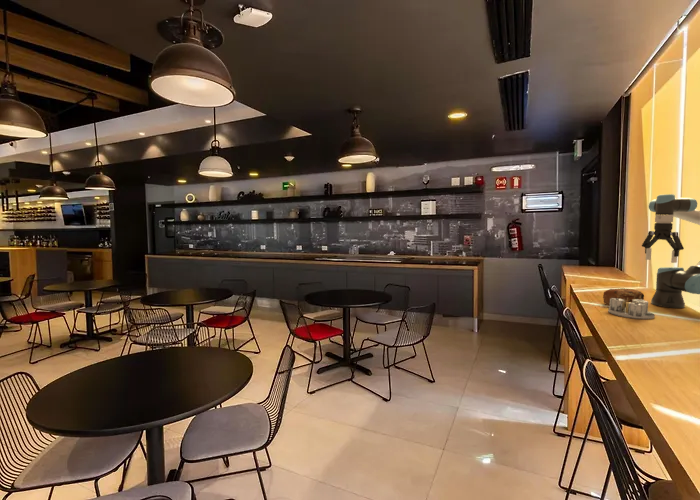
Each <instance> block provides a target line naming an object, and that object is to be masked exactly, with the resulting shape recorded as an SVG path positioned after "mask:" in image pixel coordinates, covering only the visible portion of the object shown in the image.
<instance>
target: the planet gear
mask: <svg viewBox="0 0 700 500" xmlns="http://www.w3.org/2000/svg"><path fill="white" fill-rule="evenodd" d="M632 303H640V304H644V305H645V311H644V313H648V312H649V311H648V310H649V301H648V300H645V299H643V300H638V299H635V300H632Z"/></svg>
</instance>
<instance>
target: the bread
mask: <svg viewBox="0 0 700 500" xmlns="http://www.w3.org/2000/svg"><path fill="white" fill-rule="evenodd" d="M602 295H603V297H602V298H603V303H604V304H605V305H608V306H610V299H611V298H620V299H623V300H625V308H626V302H632V300H635V299H638V300H645V298H644V297H645V295H644V293H643V292H642V291H639V290H637V289H633V288H632V289H631V288H624V287H623V288H621V287H620V288H610V289H607V290H605V291H604V292H603V294H602Z"/></svg>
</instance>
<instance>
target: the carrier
mask: <svg viewBox="0 0 700 500" xmlns="http://www.w3.org/2000/svg"><path fill="white" fill-rule="evenodd" d="M608 306H609V308H608V313H609V314H611V315H614V316H616V317H622V318H626V319H632V320H653V319H655V314H654V313H652V312H650V311H648V313H644V311H645V305H644V304H640V303H632V302H626V307H625V300H623V299H620V298H611V299H610V305H608Z"/></svg>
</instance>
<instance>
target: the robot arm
mask: <svg viewBox="0 0 700 500" xmlns="http://www.w3.org/2000/svg"><path fill="white" fill-rule="evenodd" d="M675 195H676V194H673V193H671V194H670V193H669V194H668V193H667V194H658V195H657V196H656V199H652V200H650V202H649V203H648V210H650V211H651V212H653V213H655V216H654V222H655V223H654V224H653V225H654V228H653V229H654V230H649V231H648V234H647V236H646V237H645V239H644V241H643V243H642V244H641V247H642V248H644V250H645V251H644V253H645V260H646V261H648V260H650V261H651V260H652V246H653V245H654V244H655V243H657V242H658V240H662V241H666V242H667V243H668V244H669V246H670V247H671V249H672V250H671V260H670V262H671V263H670V264H674V263H675V264H677V262H678V257H679V256H680V251H683V250H684V246H683V244H682V241H681V239H680V237H679V232H678V231H672V230H673V225H674V218H677V219H680V220H682V221H686V222H689V223H691V224H692V223H693V224H694V225H699V226H700V210H699V209H697V207H698V201H697V200H696V199H695V198H692V197H677V198H676V196H675ZM655 286H656V287H655V292H654V294H653V295H652V298H651V299H650V300H651V301H650V303H651V305H653V306H657V307H663V308H672V309H683V308H685V307H686V305H685V304H686V303H685V300H684V297H683V293H682V292H685V293H690V294H693V295H700V261H699V262H698V263H696V264H695V265H694V264H693V265H690V266H689V267H688V268H687V269H686V270H685V269H684V267H679V266H678V267H672V266H671V267H659V268H657V273H656V283H655Z"/></svg>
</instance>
